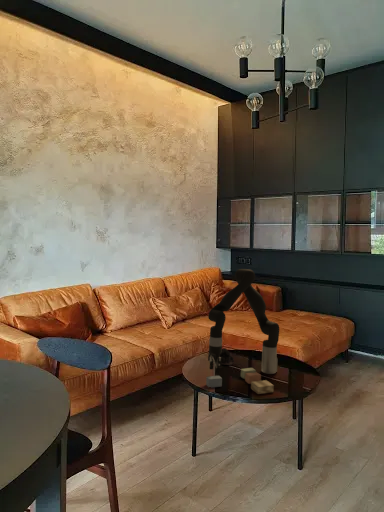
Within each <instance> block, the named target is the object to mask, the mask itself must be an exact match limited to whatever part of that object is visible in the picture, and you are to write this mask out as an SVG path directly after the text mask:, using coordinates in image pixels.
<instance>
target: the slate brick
mask: <svg viewBox="0 0 384 512" xmlns="http://www.w3.org/2000/svg"><path fill="white" fill-rule="evenodd" d="M205 378H206V379H205V385H206V386H207V387H208V388H209V387H211V388H219V387H220V388H221V387H222V386H223V378H222V377H221V376H220V375H211V376H210V375H209V376H206V377H205Z"/></svg>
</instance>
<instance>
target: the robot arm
mask: <svg viewBox="0 0 384 512" xmlns="http://www.w3.org/2000/svg"><path fill="white" fill-rule="evenodd" d="M234 274H235V275H234V277H235V281H236V283H237V285H236V286H235V287H233V288H232V289H230V290H229V291H227V292H226V293H225V294H224V296H223V297H222V298H221V300H220V301H219V302H218V303H217V304H216V305H215V306H213V307H211V309H210V310H209V312H208V315H207V317H208V320H209V321H210V322H213V323H215V324H214V325H212V326H211V327H210V330H209V342H208V353H207V361H209V362H208V363H209V370H214V366H215V370H214V371H215V375H219V374H220V372H221V371H220V369H222V368H223V364H222V357H219V354H220V353H221V352H222V349H223V330H224V326H225V323H226V313H225V312H228V311H230V310H231V308H232V306H233V305H234V303H236V301H237V300H238V298H239V297H240V296H241V295H242V294H243V293H244V295H245V298H246V300H247V302H248V305H249V306H250V308H251V310H252V311H253V314H254V316H255V318H256V320H257V322H258V326H259V329H260V331H261V332H262V334H264V335H265V336H267V339H264V340H263V341H262V349H261V352H262V353H261V372H262V373H264V374H267V375H273V374H274V375H275V374H276V372H277V373H278V357H277V352H278V351H277V350H278V344H279V339H280V338H279V337H280V324H278V323H277V322H276V321H275V322H274V321H272V320H269V319H268V317H267V314H266V310H267V309H266V308H267V306H266V305H267V304H266V302H265V300H264V298H263V296H262V295H261V294H260V293H259V292H258V291H257V290H256V288H254V287H253V285H252V284H253V283H254V281H255V279H256V274H255V272H254V270H252V269H247V268H239V269H237V270H236V271H235V273H234Z"/></svg>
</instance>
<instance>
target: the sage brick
mask: <svg viewBox="0 0 384 512" xmlns="http://www.w3.org/2000/svg"><path fill="white" fill-rule="evenodd" d="M256 372H257V371H256V369H254V368H253V367H246V368H245V367H244V368H240V378H242V379H244V380H245V378H246V373H256Z"/></svg>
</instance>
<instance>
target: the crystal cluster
mask: <svg viewBox="0 0 384 512" xmlns="http://www.w3.org/2000/svg"><path fill="white" fill-rule="evenodd" d="M219 357H222V366H223V365H224V366H232V365H234V362H235V359H234V356H232V354H231V352H230V351H229V350H228V349H227V348H223V347H222V352H221V353H220V354H219Z"/></svg>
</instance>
